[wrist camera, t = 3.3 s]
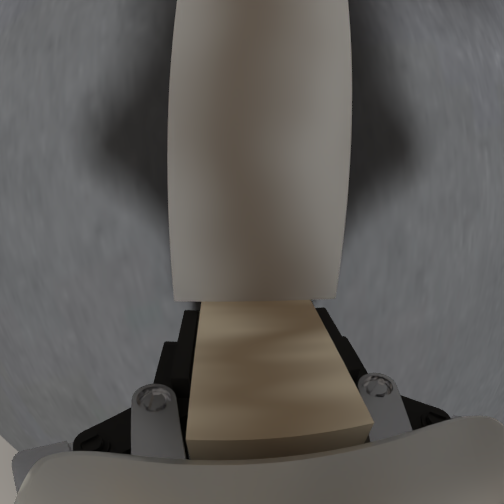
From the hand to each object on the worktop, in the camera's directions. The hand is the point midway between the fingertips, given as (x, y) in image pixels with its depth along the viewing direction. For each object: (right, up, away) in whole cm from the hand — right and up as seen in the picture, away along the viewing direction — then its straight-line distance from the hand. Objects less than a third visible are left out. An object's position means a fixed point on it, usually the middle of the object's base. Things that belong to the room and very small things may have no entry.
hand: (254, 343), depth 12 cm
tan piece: (0, +10, -1) cm, 10 cm away
